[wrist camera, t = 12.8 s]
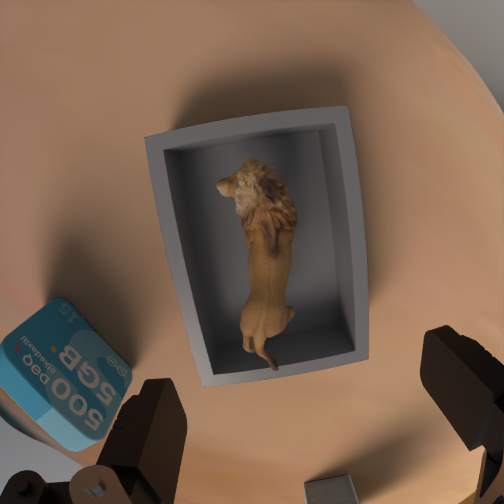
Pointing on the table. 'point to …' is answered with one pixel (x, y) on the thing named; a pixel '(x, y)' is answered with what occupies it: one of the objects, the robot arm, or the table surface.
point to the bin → (235, 246)
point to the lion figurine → (264, 249)
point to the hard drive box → (331, 491)
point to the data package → (64, 375)
